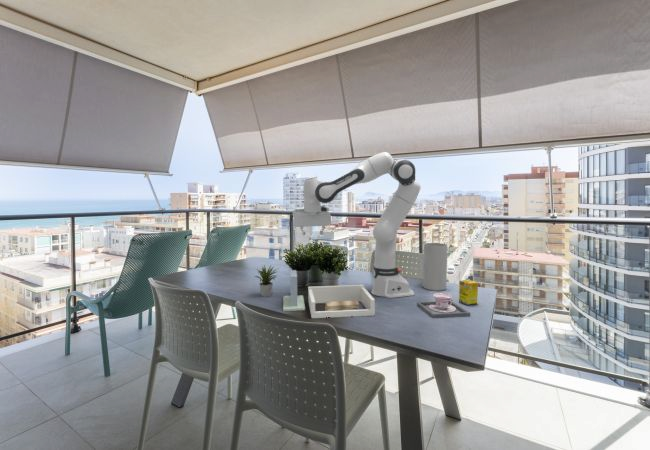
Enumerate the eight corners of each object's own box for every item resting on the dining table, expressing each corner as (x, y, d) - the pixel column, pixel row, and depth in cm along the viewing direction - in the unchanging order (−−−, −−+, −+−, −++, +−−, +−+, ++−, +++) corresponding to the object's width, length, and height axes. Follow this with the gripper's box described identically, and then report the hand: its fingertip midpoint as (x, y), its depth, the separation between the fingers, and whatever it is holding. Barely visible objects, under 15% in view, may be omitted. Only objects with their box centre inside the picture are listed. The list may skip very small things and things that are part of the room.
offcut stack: (355, 309, 153) (355, 299, 153) (360, 314, 147) (360, 304, 146) (324, 311, 150) (324, 301, 150) (327, 316, 144) (327, 306, 143)
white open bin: (363, 300, 166) (363, 284, 165) (374, 315, 144) (374, 297, 143) (308, 302, 163) (308, 286, 162) (311, 318, 141) (311, 300, 140)
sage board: (303, 297, 171) (303, 295, 171) (305, 310, 151) (305, 308, 151) (283, 297, 170) (283, 296, 170) (283, 311, 150) (283, 308, 150)
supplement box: (458, 302, 162) (459, 280, 161) (468, 301, 164) (468, 279, 163) (467, 306, 156) (468, 283, 155) (477, 304, 158) (478, 282, 157)
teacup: (423, 308, 154) (423, 295, 153) (437, 302, 161) (438, 290, 161) (447, 315, 145) (447, 301, 144) (461, 309, 152) (461, 296, 152)
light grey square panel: (297, 306, 154) (297, 276, 152) (290, 306, 153) (290, 276, 152) (296, 297, 167) (296, 270, 166) (290, 297, 167) (290, 270, 166)
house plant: (274, 300, 165) (273, 268, 164) (248, 299, 168) (247, 267, 167) (283, 292, 179) (282, 262, 178) (259, 291, 182) (258, 262, 181)
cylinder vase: (448, 291, 180) (449, 246, 178) (424, 290, 182) (425, 245, 180) (443, 285, 192) (444, 243, 190) (421, 284, 194) (422, 242, 192)
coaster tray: (450, 303, 160) (450, 300, 159) (470, 316, 143) (470, 312, 143) (417, 305, 158) (417, 302, 157) (432, 317, 141) (432, 314, 141)
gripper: (292, 209, 170) (293, 236, 171) (331, 208, 173) (332, 234, 174) (292, 209, 176) (293, 234, 177) (330, 208, 179) (330, 233, 180)
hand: (312, 234), depth 176 cm, fingers open, 8 cm apart
